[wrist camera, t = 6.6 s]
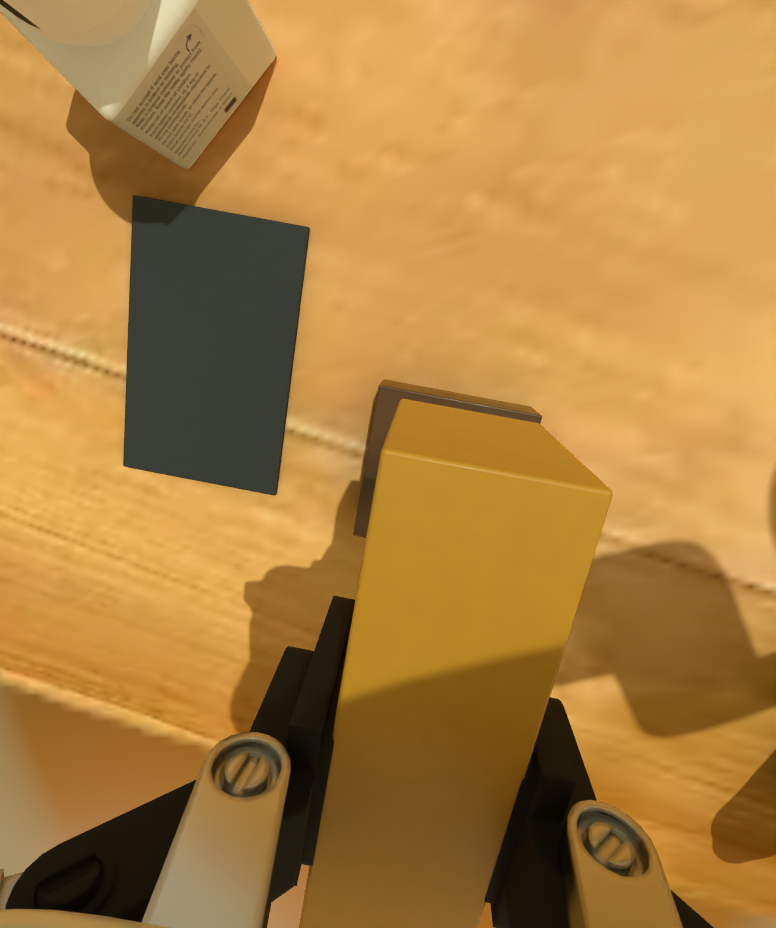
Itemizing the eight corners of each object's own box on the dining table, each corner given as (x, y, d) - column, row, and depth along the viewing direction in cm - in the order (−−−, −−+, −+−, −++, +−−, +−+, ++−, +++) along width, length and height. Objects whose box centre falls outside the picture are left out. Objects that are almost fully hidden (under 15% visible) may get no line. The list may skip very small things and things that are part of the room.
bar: (400, 397, 11) (381, 448, 6) (540, 423, 11) (615, 491, 6) (324, 822, 14) (278, 1043, 10) (431, 844, 14) (433, 1077, 10)
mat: (136, 196, 29) (132, 194, 28) (310, 228, 29) (308, 227, 28) (126, 464, 33) (122, 466, 33) (276, 493, 33) (275, 495, 33)
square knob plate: (383, 379, 30) (369, 397, 23) (531, 407, 30) (568, 435, 23) (359, 517, 33) (338, 575, 25) (496, 543, 33) (518, 611, 25)
